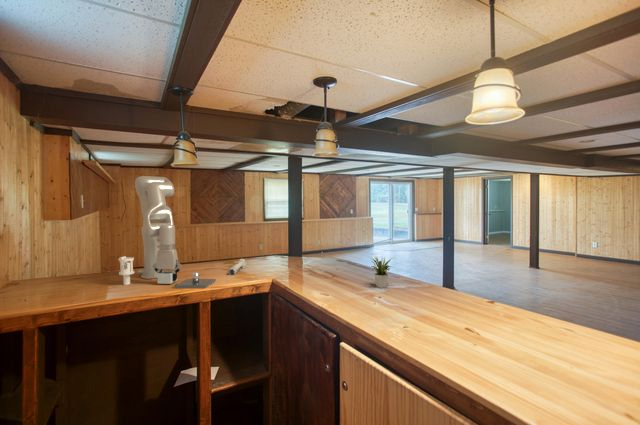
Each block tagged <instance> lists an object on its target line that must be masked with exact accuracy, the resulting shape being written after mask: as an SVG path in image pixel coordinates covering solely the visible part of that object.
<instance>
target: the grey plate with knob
mask: <svg viewBox="0 0 640 425" xmlns="http://www.w3.org/2000/svg"><path fill="white" fill-rule="evenodd" d="M191 277H192V278H186V279H184V280H182V281H180V282H178V283H176V284H174V285H173V288H174V289H206V288H208V287H209V285H210V286H212V285H213V284H215V283H216V282H217V279H216V278H200V272H199V271H192V276H191ZM215 281H216V282H215ZM214 282H215V283H214ZM212 283H213V284H212Z"/></svg>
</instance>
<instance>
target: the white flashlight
mask: <svg viewBox="0 0 640 425" xmlns="http://www.w3.org/2000/svg"><path fill="white" fill-rule="evenodd" d="M238 260H239V261H238V262H237V263H235V264H234V265H232V266H231V267H230V268H229V270H228V271H227V273H228V274H229V276H234V275H235V274H236V273H238V271H239V269H240V270H241V269H243V270H244V269H246V268H247V262H246V260H245V259H244V258H240V259H238Z"/></svg>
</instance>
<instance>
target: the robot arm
mask: <svg viewBox="0 0 640 425" xmlns="http://www.w3.org/2000/svg"><path fill="white" fill-rule="evenodd" d="M134 182H135V183H134V186H135V191H136V192H135V193H136V194H137V196H138V198H139V200H140V206H141V214H142V218H143V219H142V224H143V226H142V227H141V235H142V236H141V237H142V239H143V240H142V241H143V242H142V243H143V269H138V272H137V273H138V274H141V276H140V278H141V279H144V280H146V279H147V280H150V279H152V280H153V279H158V274H159V273H161V272H163V270H171V271H173V281H175V282H177V281H178V273H179V272H180V271H181V269H182V268H183V267H184V265H182V264H181V263H180V262H179V258H178V251H177V249H176V226H175V222H174V219H173V218H174V216H173V212H172V211H173V210H172V209H171V207H169V206H167V202H166V197H173V196H174V195H175V187H174V186H175V185H174V184H173V182H171V180H170V179H168V178H167V177H166V176H153V175H152V176H151V175H142V176H138V177H136V178H135V181H134ZM158 240H159V241H158ZM176 280H177V281H176Z"/></svg>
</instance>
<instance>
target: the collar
mask: <svg viewBox="0 0 640 425" xmlns="http://www.w3.org/2000/svg"><path fill="white" fill-rule="evenodd" d="M177 281H178V279H177V280H176V281H173V271H172V270H164V271H162V272H161V273H159V274H158V278H157V284H160V285H161V284H164V285H165V284H167V285H168V284H169V285H170V284H173V283H175V282H177Z"/></svg>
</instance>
